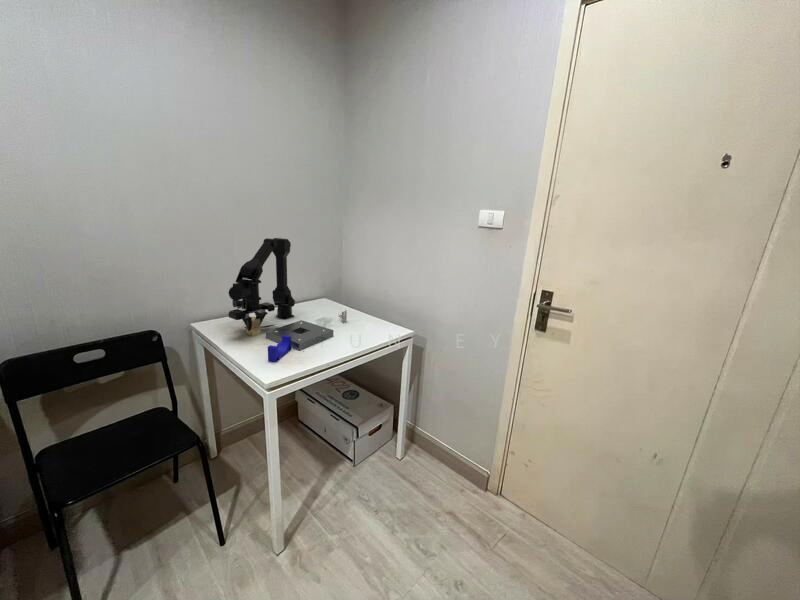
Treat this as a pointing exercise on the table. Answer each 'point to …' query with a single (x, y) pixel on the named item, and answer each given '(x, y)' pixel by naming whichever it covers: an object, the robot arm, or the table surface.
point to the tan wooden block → (254, 327)
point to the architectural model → (343, 317)
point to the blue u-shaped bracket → (279, 349)
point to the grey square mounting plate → (300, 334)
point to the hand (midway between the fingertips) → (253, 329)
